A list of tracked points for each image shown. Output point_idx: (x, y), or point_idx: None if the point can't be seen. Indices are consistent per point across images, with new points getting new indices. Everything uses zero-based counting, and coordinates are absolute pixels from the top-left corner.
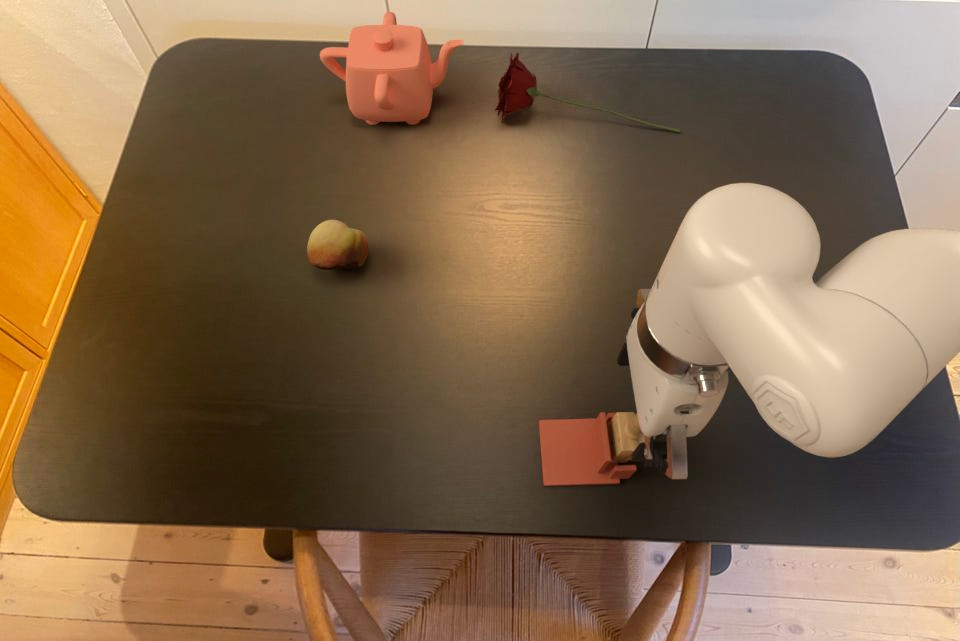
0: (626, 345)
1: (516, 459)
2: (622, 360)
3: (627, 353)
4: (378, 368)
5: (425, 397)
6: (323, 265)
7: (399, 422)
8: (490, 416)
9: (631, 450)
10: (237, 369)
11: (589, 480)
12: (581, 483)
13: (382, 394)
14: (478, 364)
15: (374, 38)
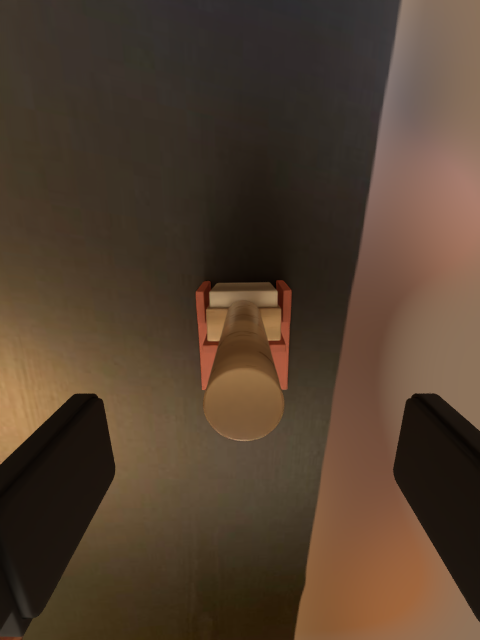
0: (8, 628)
1: None
2: (94, 508)
3: (55, 574)
4: (146, 539)
5: (177, 499)
6: (20, 637)
7: (207, 520)
8: (198, 438)
9: (279, 324)
10: (158, 637)
11: (284, 335)
12: (288, 345)
13: (176, 535)
14: (130, 448)
15: None
